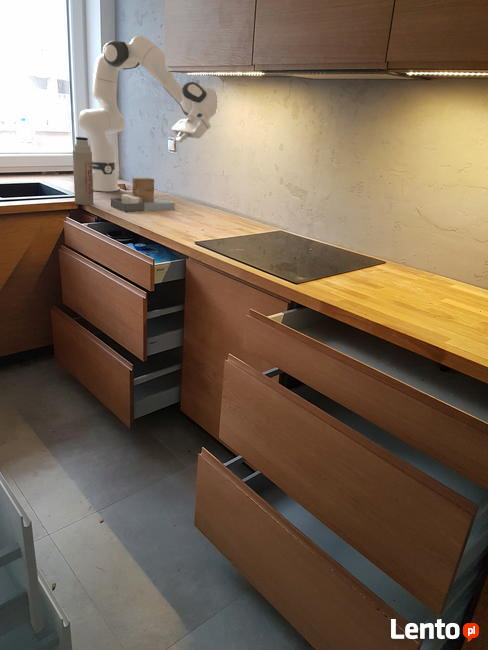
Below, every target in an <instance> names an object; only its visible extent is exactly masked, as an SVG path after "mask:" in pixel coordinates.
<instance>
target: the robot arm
mask: <svg viewBox="0 0 488 650" xmlns="http://www.w3.org/2000/svg"><path fill="white" fill-rule="evenodd" d="M165 55H166V54H165V52H164V51H163V50H162V49H161V48H160V47H159V46H157V44H155V43H154V42H153V41H151V40H150V39H149V38H147V37H146V36H143V35H141V34H139V35H135V36H134V37H132V39H131V41H130V42H127V41H119V40H110V41H108V42H106V43H105V44H104V46H103V49H102V53H100V54H99V55H98V56H97V58H96V61H95V66H94V69H93V70H94V73H93V82H92V83H93V85H92V95H93V97H94V99H96V100H97V102H98V105H99V109H98V108H97V109H96V108H89V109H84V110H82V111H80V113H79V116H78V124H79V127H80V129H82V130H83V131H84V133H85V134H86V136H87V138H88V141H89V144H90V148H91V149H90V151H91V152H92V169H93V191H94V192H95V191H96V192H116V191H119V190H121V187H120V186H119V184H118V182H119V181H118V173H117V172H116V170H115V169H116V163H115V152H114V150H115V148H114V146H113V144H112V143H111V142H109V140H108V137H107V134H116V133H119V132H120V133H121V131H123V130H124V128H125V119H124V115H122V114H121V112H120V110H119V108H118V103H117V89H118V75H119V72H120V70H131V69H136V68H138V67H139V66H140V65H141V66H142V68H143V69H145V70H146V71H147V72H148V73H149V74H150V75H151V76H152V77H153V78H154V79H156V81H157V83H159V85H160V86H162V87H163V88H164V90H165V91H166V92H167V93H168V94H169V95H170V96H171V97H172V98H173V100H175V101H176V102H177V104H178V105H179V107H180V108H181V112H183V114H184V115H185V116H186V117H185V118H180V119H178V121H177V122H176V123H175V124H174V125H173V126H172V127H171V131H172V133H173V135H175V136H176V137H175V142H176V143H179V144H181V143H182V142H183V141H185V140H186V139H188V138H192V139H197V140H198V139H200V138H202V137H203V135H204V134H205V133H206V132H207V131H208V130H210V129H211V127H212V125H211V123H210V122H209V121H210V119H211V118H212V117H214V116H215V115H216V114H217V112H216V109H217V102H218V101H217V95H216V92H215V90H216V89H215V88H207V87H205V86H202V85H200V84H199V83H198V82H195V81H189V82H186V83H185V84H184V85H183V86H181V85H180V84H179V83H178V82H177V80H176V78H175V76H174V75H173V74H174V73H173V72H167V71H166V68H165ZM214 89H215V90H214Z"/></svg>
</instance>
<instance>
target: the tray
mask: <svg viewBox="0 0 488 650" xmlns="http://www.w3.org/2000/svg"><path fill="white" fill-rule="evenodd" d="M110 207H111V208H113V209H114V208H115V209H116V210H119V211H121V212H124V213H133V212H135V211H139V212H145V211H144V203H132V204H125V203H122V197H115V198H114V197H113V198H110ZM135 213H136V212H135Z"/></svg>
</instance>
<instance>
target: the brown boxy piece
mask: <svg viewBox="0 0 488 650" xmlns="http://www.w3.org/2000/svg"><path fill="white" fill-rule="evenodd" d="M126 194H127V195H130V196H134V197H137V198H139V203H144V202H154V198H155V179H153V178H150V177H132V194H131V193H126Z"/></svg>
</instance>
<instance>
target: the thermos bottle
mask: <svg viewBox="0 0 488 650" xmlns="http://www.w3.org/2000/svg"><path fill="white" fill-rule="evenodd" d="M75 139H76V140H75V144H74V145H73V147H74V150H72V159H73V160H72V164H73V168H72V169H73V186H74V187H73V189H74V190H73V191H74V203H75V204H77V205H85V206H86V205H87V206H88V205H93V204H94V190H93V169H92V152H91V145H89V138H88V137H84V136H76V137H75Z"/></svg>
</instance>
